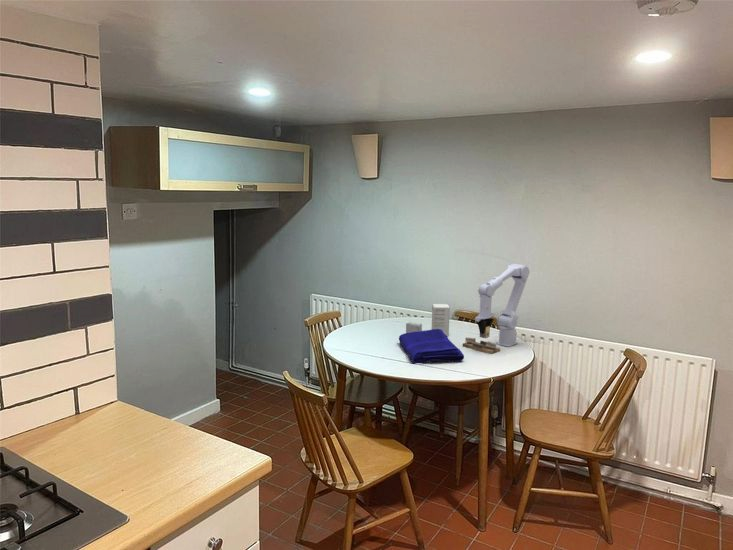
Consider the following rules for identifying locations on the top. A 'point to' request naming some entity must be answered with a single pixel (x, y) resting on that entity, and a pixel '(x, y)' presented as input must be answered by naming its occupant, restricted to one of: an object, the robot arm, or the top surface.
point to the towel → (430, 347)
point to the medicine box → (413, 327)
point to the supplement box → (441, 317)
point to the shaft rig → (481, 345)
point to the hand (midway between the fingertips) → (484, 332)
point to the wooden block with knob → (486, 332)
